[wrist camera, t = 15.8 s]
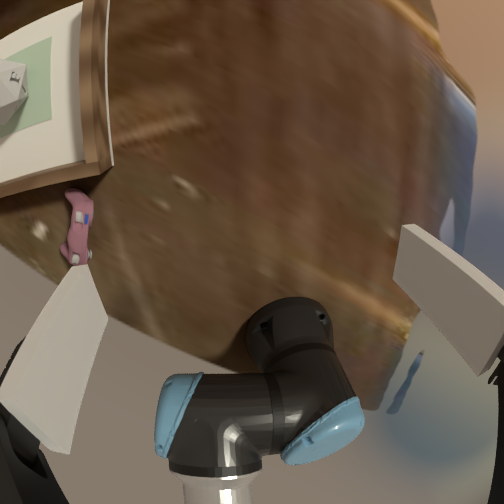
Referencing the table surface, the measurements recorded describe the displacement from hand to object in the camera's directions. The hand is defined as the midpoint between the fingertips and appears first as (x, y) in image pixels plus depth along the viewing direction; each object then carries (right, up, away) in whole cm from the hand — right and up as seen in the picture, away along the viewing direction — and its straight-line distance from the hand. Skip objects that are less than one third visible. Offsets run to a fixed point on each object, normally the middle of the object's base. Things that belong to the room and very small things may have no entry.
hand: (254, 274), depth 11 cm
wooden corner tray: (-29, +21, +13) cm, 39 cm away
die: (-32, +22, +12) cm, 40 cm away
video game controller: (-23, +5, +23) cm, 33 cm away
